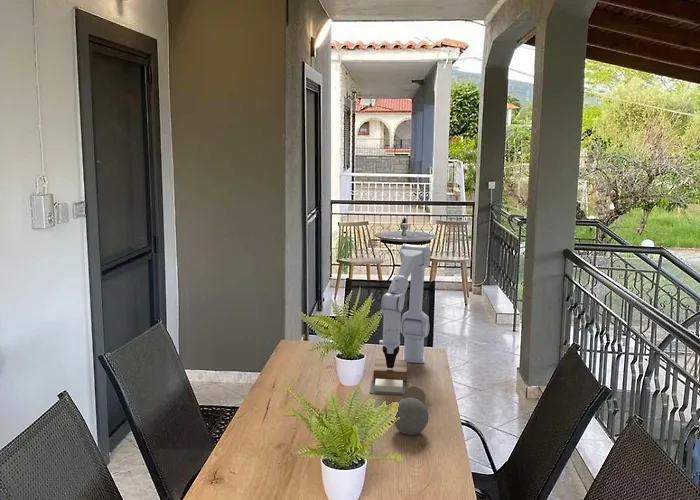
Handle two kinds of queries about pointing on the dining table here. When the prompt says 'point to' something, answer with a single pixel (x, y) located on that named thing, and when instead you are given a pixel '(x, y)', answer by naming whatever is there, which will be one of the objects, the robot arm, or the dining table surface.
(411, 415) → the decorative ball
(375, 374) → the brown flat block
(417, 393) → the tan short cylinder
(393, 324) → the robot arm
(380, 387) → the cream rectangular block
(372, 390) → the mat
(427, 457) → the dining table surface
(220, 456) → the dining table surface
